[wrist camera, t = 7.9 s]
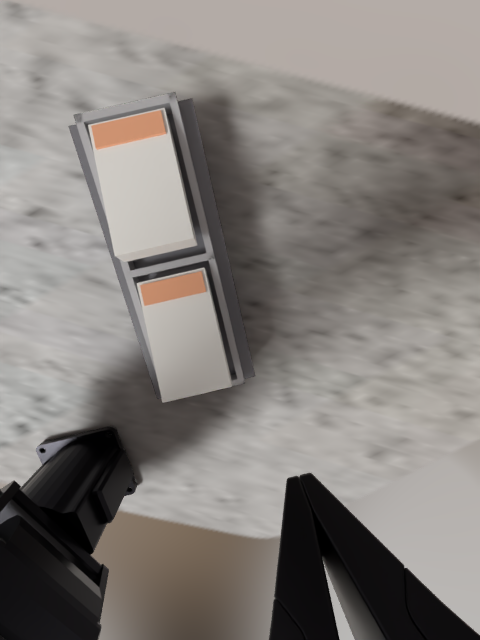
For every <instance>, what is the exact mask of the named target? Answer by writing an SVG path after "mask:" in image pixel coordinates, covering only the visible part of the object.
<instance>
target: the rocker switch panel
mask: <svg viewBox="0 0 480 640" xmlns="http://www.w3.org/2000/svg"><path fill="white" fill-rule="evenodd" d="M161 108H165V111H166V114H167V116H168V119H169V122H170V126H171V130H172V135H173V139H174V143H175V148H176V152H177V157H178V161H179V166H180V170H181V174H182V179H183V183H184V188H185V192H186V197H187V201H188V206H189V210H190V214H191V219H192V223H193V228H194V232H195V237H196V241H197V246H193V247H189V248H184V249H180V250H176V251H171V252H167V253H162V254H158V255H154V256H149V257H145V258H141V259H136V260H132V261H128V262H123V261H122V260H120V259H118V258H117V257H115V255H114V250H113V245H112V240H111V236H110V231H109V226H108V221H107V216H106V211H105V206H104V201H103V196H102V191H101V186H100V181H99V177H98V172H97V167H96V162H95V157H94V152H93V147H92V142H91V137H90V132H89V127H88V125H90V124H94V123H99V122H103V121H108V120H112V119H117V118H121V117H126V116H130V115H134V114H139V113H143V112H148V111H152V110H157V109H161ZM74 119H75V122H76V125H72V126H69V129H70V132H71V135H72V138H73V141H74V145H75V148H76V151H77V154H78V157H79V160H80V163H81V166H82V169H83V172H84V175H85V178H86V181H87V184H88V187H89V191H90V194H91V197H92V200H93V203H94V206H95V209H96V212H97V215H98V218H99V221H100V224H101V227H102V230H103V234H104V237H105V240H106V243H107V246H108V249H109V252H110V255H111V258H112V261H113V264H114V267H115V270H116V273H117V277H118V280H119V283H120V286H121V289H122V292H123V295H124V298H125V301H126V304H127V307H128V310H129V313H130V316H131V320H132V323H133V326H134V329H135V332H136V335H137V338H138V341H139V344H140V347H141V350H142V353H143V356H144V359H145V363H146V366H147V369H148V372H149V375H150V378H151V381H152V384H153V387H154V390H155V393H156V396H157V399H160V398H161V393H160V389H159V384H158V379H157V375H156V370H155V366H154V361H153V356H152V352H151V347H150V343H149V338H148V333H147V329H146V324H145V319H144V315H143V310H142V306H141V301H140V296H139V292H138V287H137V283H139V282H144V281H148V280H152V279H157V278H161V277H165V276H170V275H174V274H178V273H183V272H187V271H192V270H196V269H200V268H205V270H206V271H207V275H208V279H209V284H210V288H211V293H212V297H213V301H214V306H215V310H216V314H217V319H218V323H219V328H220V332H221V336H222V341H223V345H224V350H225V354H226V358H227V363H228V367H229V371H230V376H231V380H232V386H235V385H240V384H244V383H245V382H244V379H245V378H250V377H254V376H255V373H254V368H253V364H252V359H251V355H250V351H249V346H248V342H247V337H246V333H245V329H244V324H243V320H242V316H241V311H240V307H239V302H238V298H237V294H236V289H235V285H234V280H233V276H232V272H231V267H230V263H229V258H228V254H227V250H226V245H225V241H224V236H223V232H222V228H221V223H220V219H219V215H218V210H217V206H216V201H215V197H214V193H213V188H212V184H211V179H210V175H209V171H208V166H207V162H206V157H205V153H204V149H203V144H202V140H201V136H200V131H199V127H198V122H197V118H196V114H195V109H194V105H193V100H192V99H187V100H183V101H178V100H177V97H176V93H175V92H173V93H168V94H164V95H160V96H155V97H151V98H146V99H142V100H137V101H133V102H128V103H124V104H120V105H115V106H111V107H106V108H102V109H97V110H93V111H88V112H84V113H79V114H75V115H74Z"/></svg>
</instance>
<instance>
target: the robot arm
mask: <svg viewBox="0 0 480 640" xmlns="http://www.w3.org/2000/svg"><path fill="white" fill-rule="evenodd" d="M108 432H109V433H111V434H112V435H110V434H108ZM36 452H37V454H38V456H39V458H40V461H41V463H42V466H41V467H40V468H39V469H38V470H37V471H36V472H35V473H34V474H33V475H32V477H31V478H30V479H29V480H28V481H27V482H26V483H25V484H24V485H23V486H22V487H21V486H20V485H19V484H18V483H17V482H15V481H12V482H11V483H9V484H8V485H6V486H5V487H3V488H2V489H0V640H98V639H99V636H100V631H101V624H100V617H101V613H102V607H103V601H104V594H105V589H106V584H107V577H108V572H109V569H108V568H107V567H106V566H104V565H103V564H102V565H101V564H99V563H98V562H97V561H96V560H95V559H94V558H93V557H92V556H91V555H90V554H92V553H93V552H94V550H95V548H96V545H97V543H98V541H99V539H100V537H101V535H102V533H103V531H104V529H105V527H106V524H107V523H111V522H112V520H113V519H114V517H115V515H116V513H117V510H118V508H119V506H120V504H121V502H122V499H123V497H124V496H126V495H130V494H133V493H134V492H135V490H136V488H137V484H136V481H135V478H134V476H133V475H134V473H133V470H132V468H131V465H130V462H129V460H128V457H127V454H126V452H125V450H124V449H123V446H122V444H121V441H120V439H119V436H118V433H117V431H116V429H115V428H114V427H106V428H101V429H97V430H93V431H89V432H84V433H80V434H76V435H71V436H67V437H63V438H59V439H54V440H50V441H46V442H43V443H41V444H40V445H39V446H38V447H37V448H36ZM20 487H21V488H20ZM129 487H131V488H129ZM322 559H323V560H322ZM323 562H324V564H325V567H326V570H327V572H328V575H329V577H330V580H331V582H332V584H333V587H334V589H335V592H336V594H337V597H338V599H339V602H340V604H341V607H342V609H343V612H344V614H345V617H346V619H347V621H348V624H349V626H350V629H351V631H352V634H353V636H354V639H355V640H480V635H479V634H478V633H476V632H475V631H474V630H473V629H472V628H471V627H470V626H468V625H467V624H466V623H465V622H464V621H463V620H462V619H460V618H459V617H458V616H457V615H456V614H455V613H454V612H452V611H451V610H450V609H449V608H448V607H447V606H446V605H445V604H444V603H443V602H441V601H440V600H439V599H438V598H437V597H436V596H435V595H434V594H433V593H432V592H431V591H430V590H429V589H428V588H427V587H426V586H425V585H424V584H423V583H422V582H421V581H420V580H419V579H418V578H416V577H415V575H414V574H413V573H412V572H411V571H409V570H408V569H407V568H404V565H403V564H402V563H401V562H400V561H399V560H398V559H397V558H396V557H395V556H394V555H393V554H392V553H391V552H390V551H389V550H388V549H387V548H386V547H385V546H384V545H383V544H382V543H381V542H380V541H379V540H378V539H377V538H376V537H375V536H374V535H373V534H372V533H371V532H370V531H369V530H368V529H367V528H366V527H365V526H364V525H363V524H362V523H361V522H360V521H359V520H358V519H357V518H356V517H355V516H354V515H353V514H352V513H351V512H350V511H349V510H348V509H347V508H346V507H345V506H344V505H343V504H342V503H341V502H340V501H339V500H338V499H337V498H336V497H335V496H334V495H333V494H332V493H331V492H330V491H329V490H328V489H327V488H326V487H325V486H324V485H323V484H322V483H321V482H320V481H319V480H318V479H317V478H316V477H315V476H314V475H313V474H311V473H307V474H303V475H300V477H299V476H294V477H290V478H288V479H287V483H286V492H285V501H284V511H283V520H282V529H281V538H280V548H279V557H278V567H277V576H276V586H275V594H274V597H275V599H274V602H273V611H272V621H271V628H270V635H269V640H339V636H338V631H337V626H336V621H335V616H334V612H333V607H332V602H331V597H330V593H329V588H328V583H327V579H326V574H325V569H324V564H323Z"/></svg>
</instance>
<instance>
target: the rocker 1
mask: <svg viewBox="0 0 480 640" xmlns="http://www.w3.org/2000/svg"><path fill="white" fill-rule="evenodd" d="M88 127H89V132H90V137H91V142H92V147H93V152H94V157H95V162H96V167H97V172H98V177H99V181H100V186H101V191H102V196H103V201H104V206H105V211H106V216H107V221H108V226H109V231H110V236H111V240H112V245H113V250H114V255H115V257H117V258H118V259H120V260H122V261H123V262H128V261H132V260H136V259H141V258H145V257H149V256H154V255H158V254H162V253H167V252H171V251H176V250H180V249H184V248H189V247H193V246H197V241H196V237H195V232H194V228H193V223H192V219H191V214H190V210H189V206H188V201H187V197H186V192H185V188H184V183H183V179H182V174H181V170H180V166H179V161H178V157H177V152H176V148H175V143H174V139H173V135H172V130H171V126H170V122H169V119H168V116H167V114H166V111H165V108H161V109H157V110H152V111H148V112H143V113H139V114H134V115H130V116H126V117H121V118H117V119H112V120H108V121H103V122H99V123H94V124H90V125H88Z"/></svg>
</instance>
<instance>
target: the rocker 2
mask: <svg viewBox="0 0 480 640" xmlns="http://www.w3.org/2000/svg"><path fill="white" fill-rule="evenodd" d="M137 287H138V292H139V296H140V301H141V306H142V310H143V315H144V319H145V324H146V329H147V333H148V338H149V343H150V347H151V352H152V356H153V361H154V366H155V370H156V375H157V379H158V384H159V389H160V393H161V398H162V403H165V402H169V401H173V400H177V399H182V398H186V397H190V396H195V395H199V394H203V393H207V392H212V391H216V390H220V389H225V388H229V387H232V380H231V376H230V371H229V367H228V363H227V358H226V354H225V350H224V345H223V341H222V336H221V332H220V328H219V323H218V319H217V314H216V310H215V306H214V301H213V297H212V293H211V288H210V284H209V279H208V275H207V271H206V270H205V268H200V269H196V270H192V271H187V272H183V273H178V274H174V275H170V276H165V277H161V278H157V279H152V280H148V281H144V282H139V283H137Z"/></svg>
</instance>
